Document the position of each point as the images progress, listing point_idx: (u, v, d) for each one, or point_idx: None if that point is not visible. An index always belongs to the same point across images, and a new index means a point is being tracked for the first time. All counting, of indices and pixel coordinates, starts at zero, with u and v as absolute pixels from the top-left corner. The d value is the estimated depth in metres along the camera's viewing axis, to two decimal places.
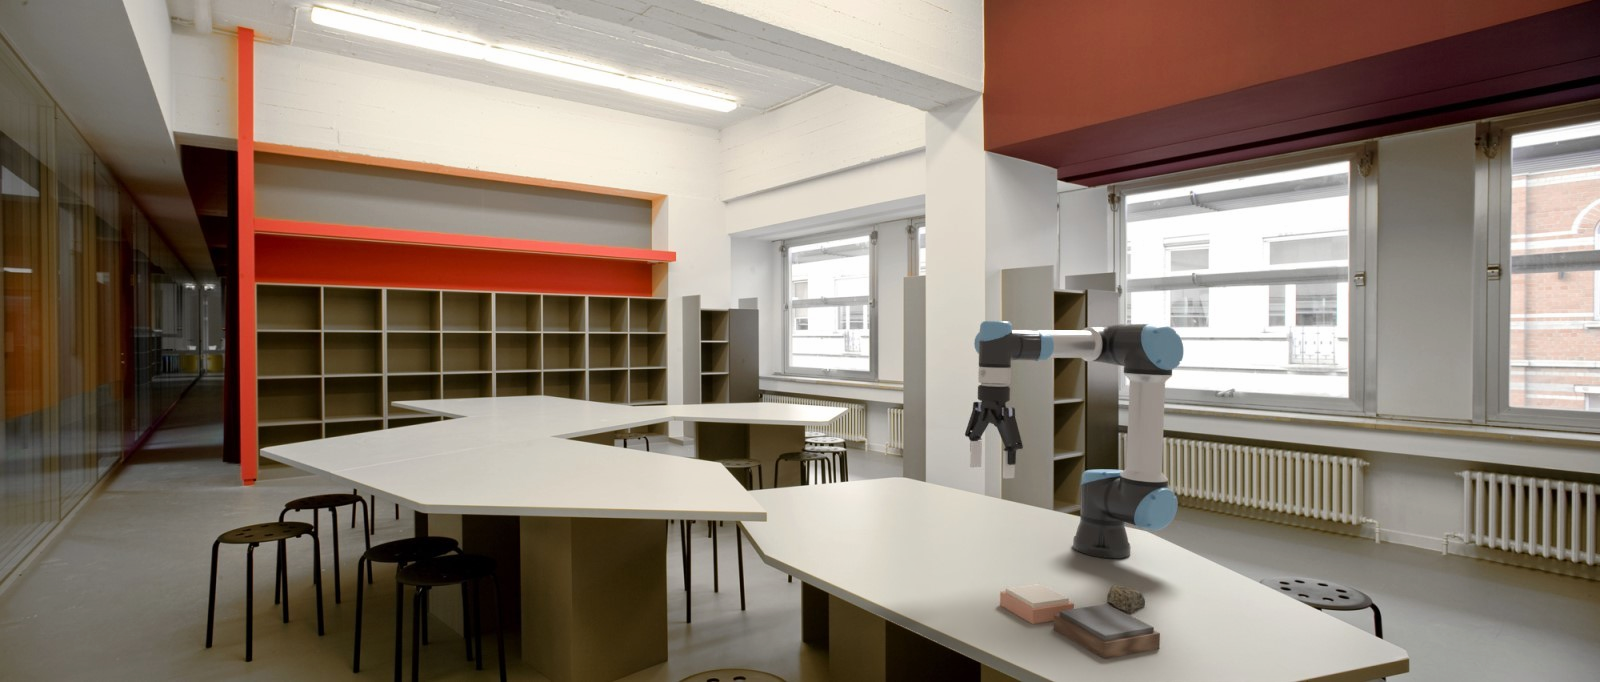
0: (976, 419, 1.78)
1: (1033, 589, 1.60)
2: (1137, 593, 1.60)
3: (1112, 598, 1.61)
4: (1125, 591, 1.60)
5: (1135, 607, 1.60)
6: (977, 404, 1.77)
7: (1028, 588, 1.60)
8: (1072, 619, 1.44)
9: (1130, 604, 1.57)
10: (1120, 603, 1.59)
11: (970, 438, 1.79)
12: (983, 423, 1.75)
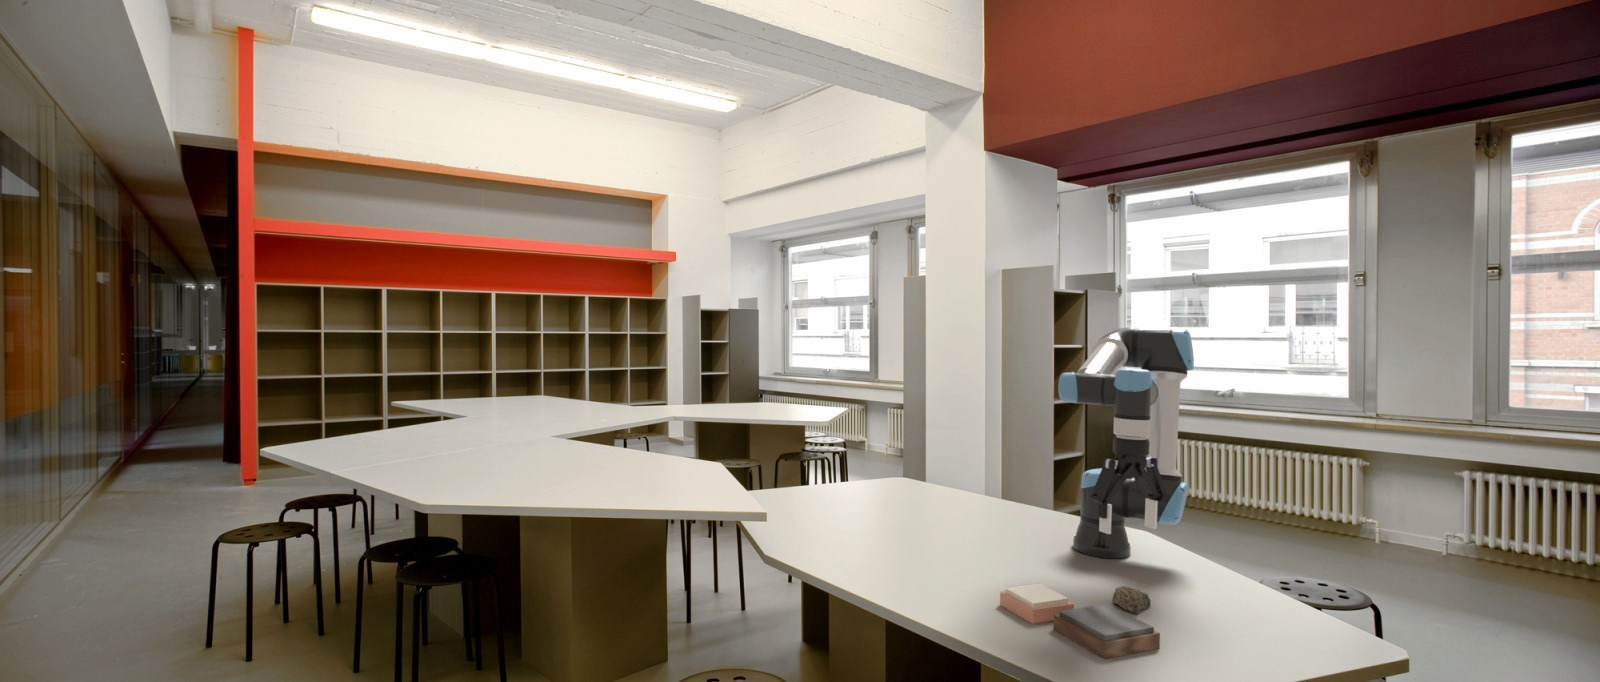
0: (1151, 476, 1.64)
1: (1033, 589, 1.60)
2: (1143, 594, 1.60)
3: (1118, 599, 1.61)
4: (1131, 592, 1.60)
5: (1141, 608, 1.60)
6: (1146, 459, 1.64)
7: (1028, 588, 1.60)
8: (1072, 619, 1.44)
9: (1136, 605, 1.57)
10: (1127, 603, 1.59)
11: None
12: (1139, 479, 1.63)
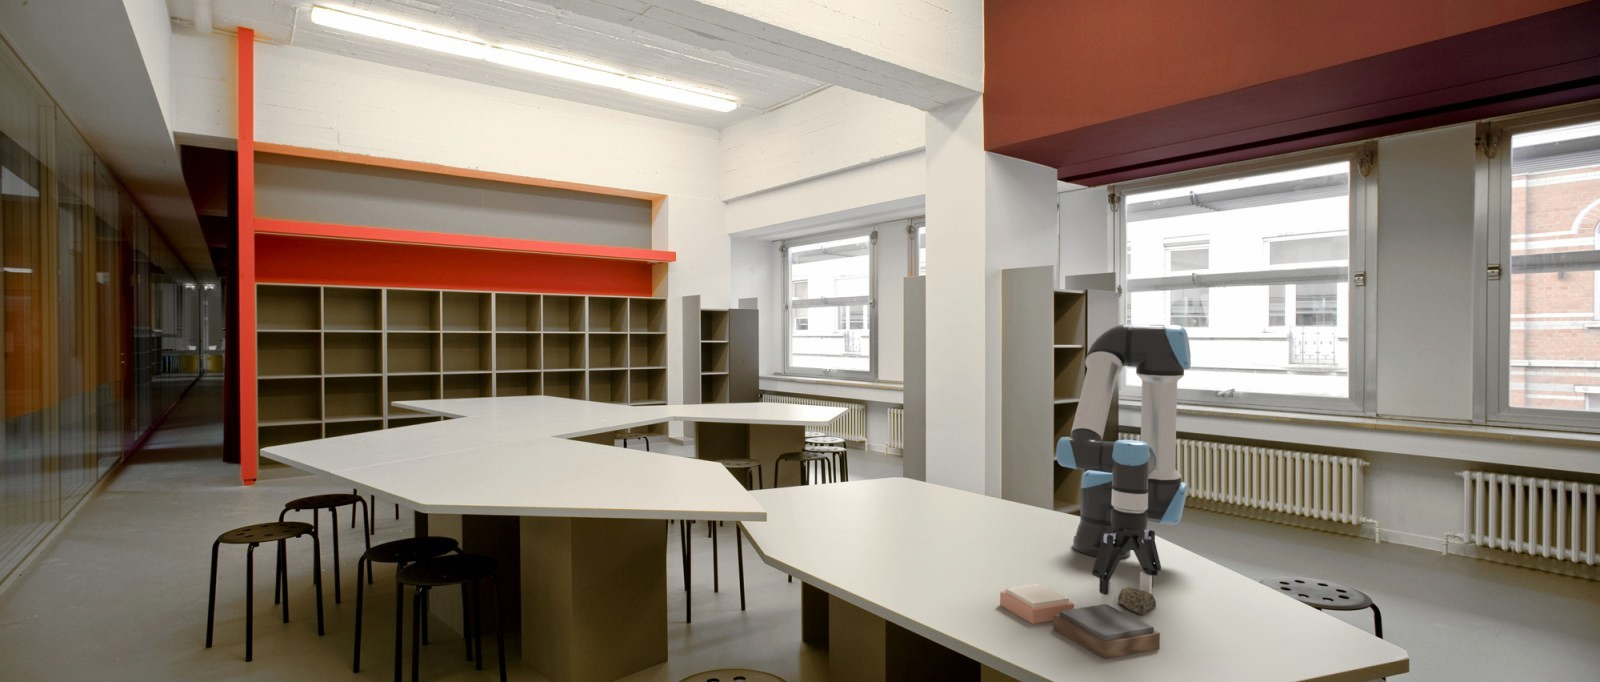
0: (1148, 548, 1.64)
1: (1033, 589, 1.60)
2: (1148, 595, 1.60)
3: (1123, 600, 1.60)
4: (1137, 593, 1.59)
5: (1146, 609, 1.59)
6: (1144, 531, 1.65)
7: (1028, 588, 1.60)
8: (1072, 619, 1.44)
9: (1142, 606, 1.57)
10: (1132, 604, 1.58)
11: None
12: (1136, 551, 1.63)
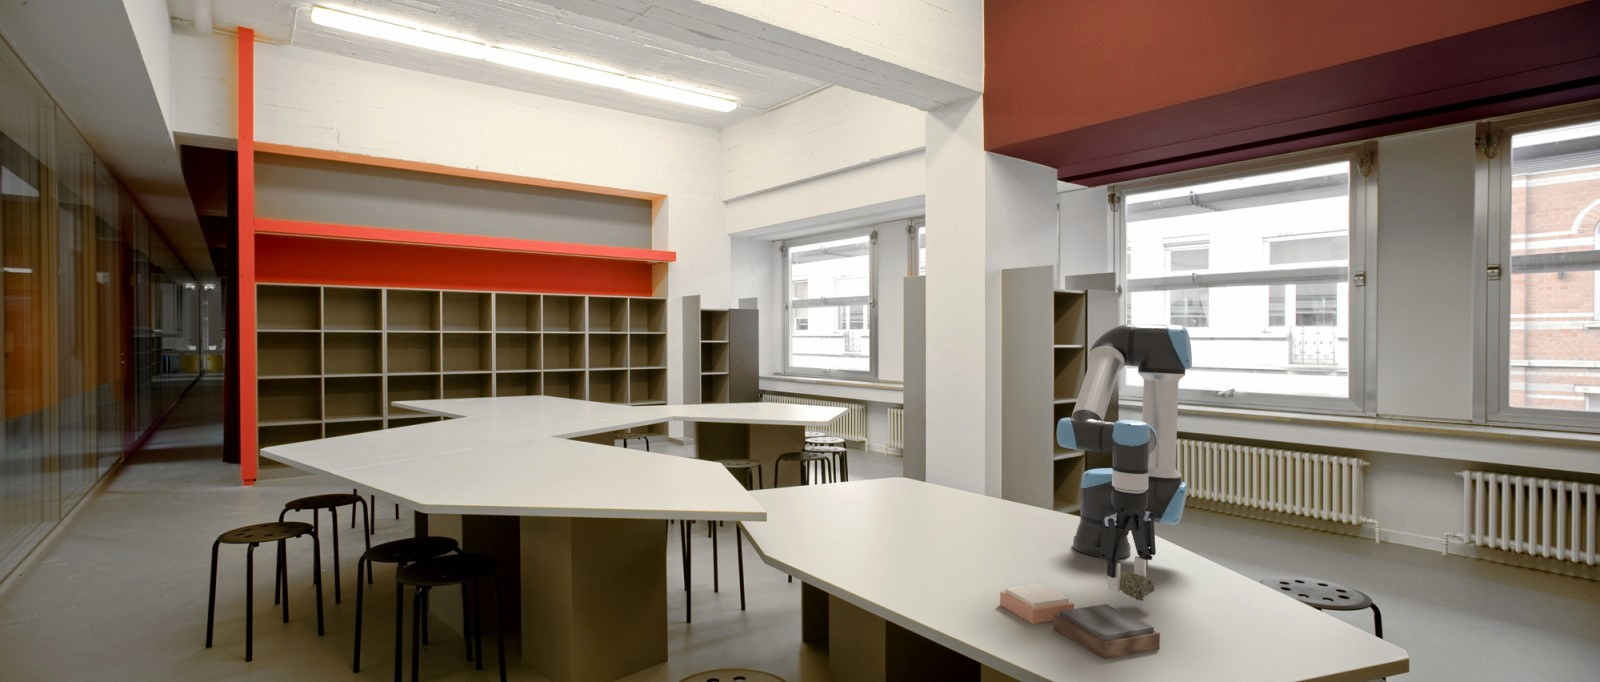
0: (1145, 531, 1.64)
1: (1033, 589, 1.60)
2: (1146, 579, 1.59)
3: (1122, 585, 1.60)
4: (1135, 578, 1.58)
5: (1145, 593, 1.59)
6: None
7: (1028, 588, 1.60)
8: (1072, 619, 1.44)
9: (1141, 591, 1.56)
10: (1131, 590, 1.57)
11: None
12: (1134, 532, 1.63)
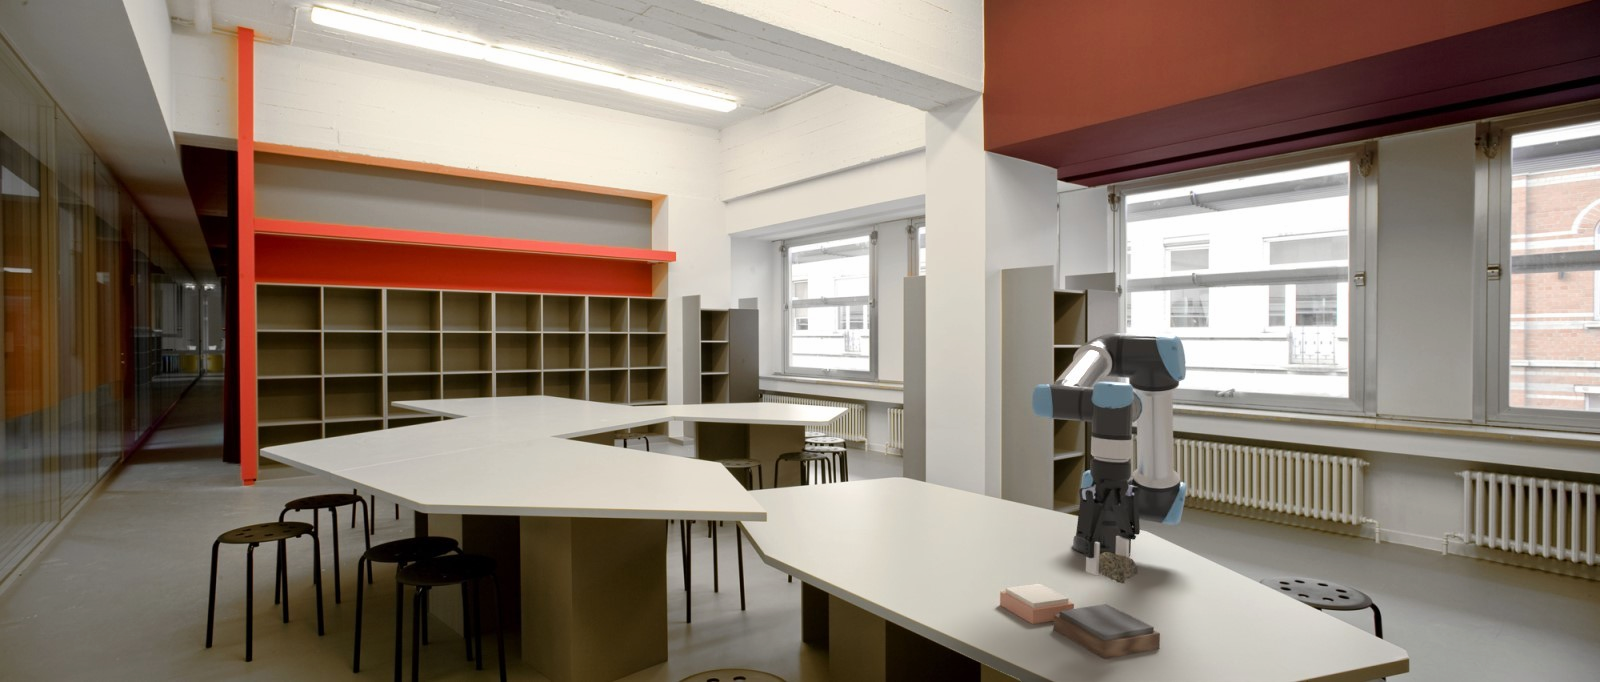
0: (1128, 507, 1.46)
1: (1033, 589, 1.60)
2: (1129, 560, 1.40)
3: (1101, 566, 1.41)
4: (1116, 558, 1.40)
5: (1127, 576, 1.40)
6: None
7: (1028, 588, 1.60)
8: (1072, 619, 1.44)
9: (1122, 572, 1.37)
10: (1111, 571, 1.39)
11: None
12: (1115, 508, 1.45)
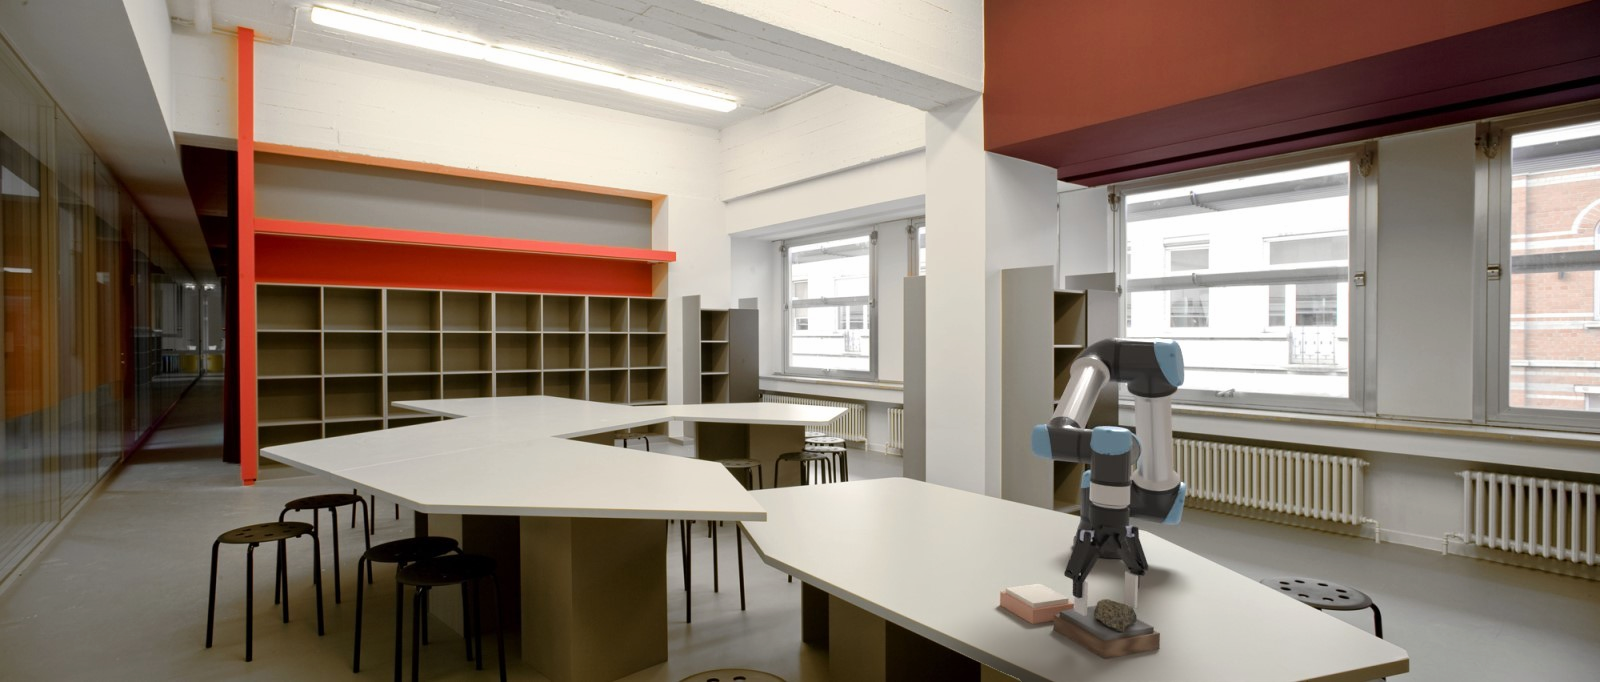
0: (1132, 546, 1.47)
1: (1033, 589, 1.60)
2: (1128, 608, 1.41)
3: (1100, 614, 1.41)
4: (1115, 606, 1.40)
5: (1126, 624, 1.40)
6: None
7: (1028, 588, 1.60)
8: (1072, 619, 1.44)
9: (1122, 621, 1.38)
10: (1110, 620, 1.39)
11: None
12: (1118, 550, 1.46)
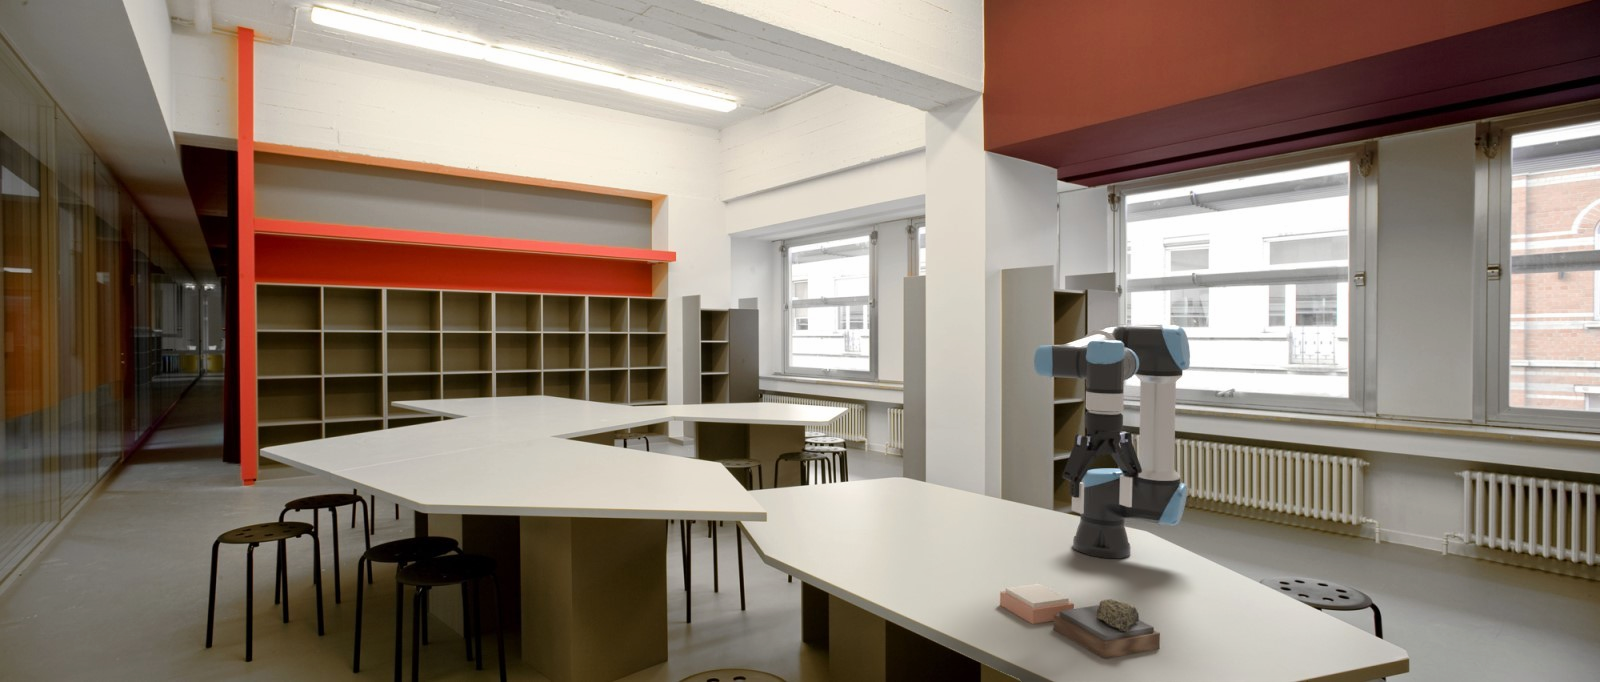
0: (1126, 451, 1.57)
1: (1033, 589, 1.60)
2: (1131, 608, 1.41)
3: (1104, 614, 1.41)
4: (1118, 606, 1.40)
5: (1129, 624, 1.40)
6: (1120, 434, 1.57)
7: (1028, 588, 1.60)
8: (1072, 619, 1.44)
9: (1126, 621, 1.38)
10: (1114, 620, 1.39)
11: None
12: (1113, 455, 1.56)
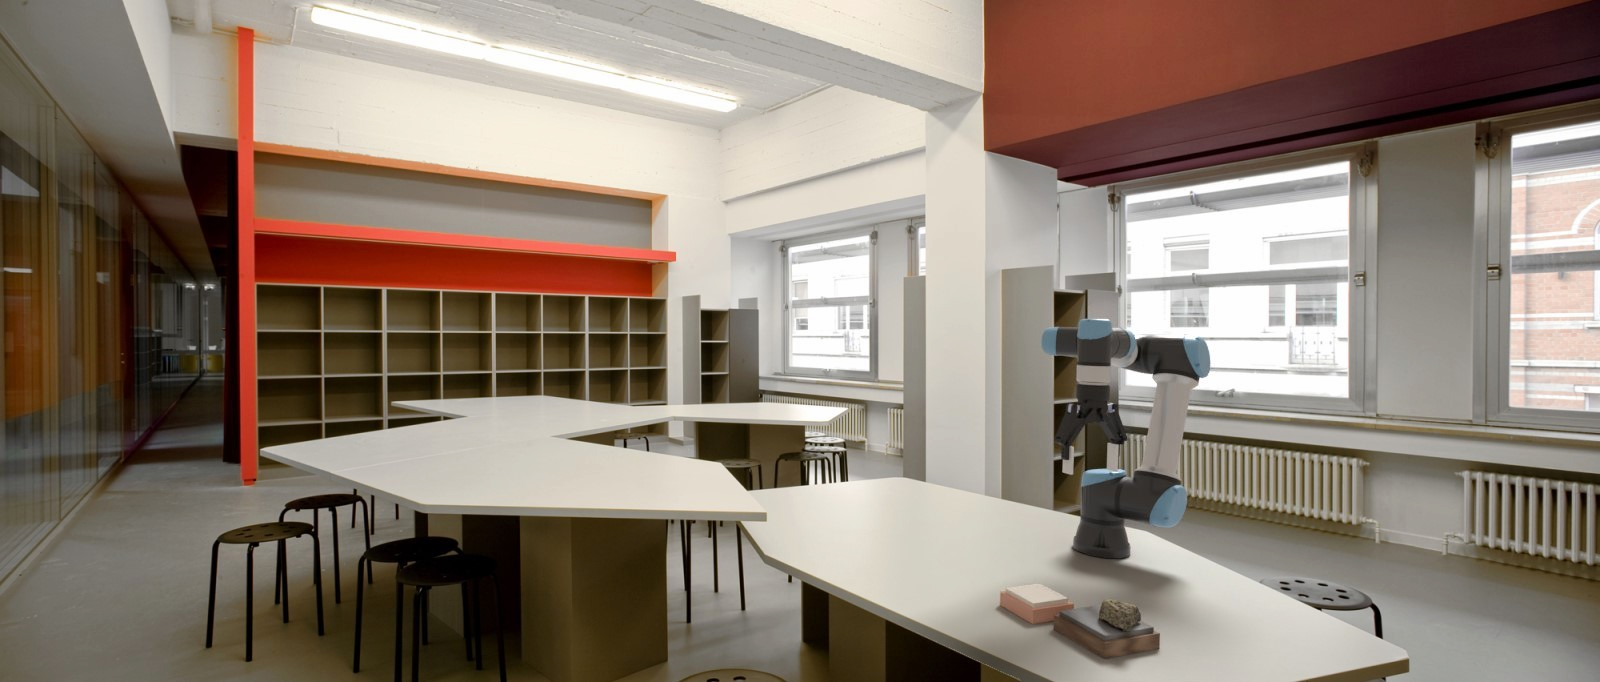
0: (1113, 421, 1.73)
1: (1033, 589, 1.60)
2: (1134, 607, 1.41)
3: (1107, 615, 1.41)
4: (1121, 606, 1.40)
5: (1132, 624, 1.40)
6: None
7: (1028, 588, 1.60)
8: (1072, 619, 1.44)
9: (1129, 621, 1.38)
10: (1117, 620, 1.39)
11: None
12: (1101, 423, 1.72)
